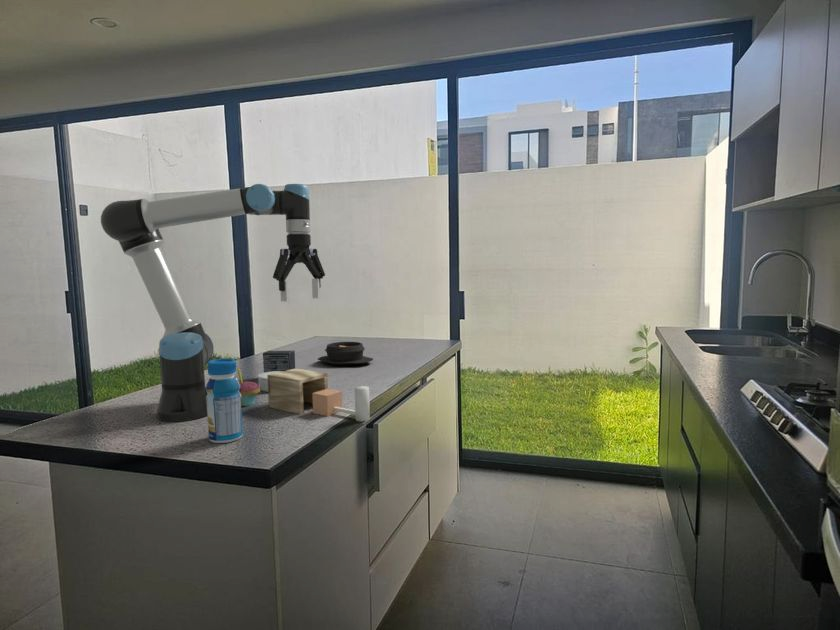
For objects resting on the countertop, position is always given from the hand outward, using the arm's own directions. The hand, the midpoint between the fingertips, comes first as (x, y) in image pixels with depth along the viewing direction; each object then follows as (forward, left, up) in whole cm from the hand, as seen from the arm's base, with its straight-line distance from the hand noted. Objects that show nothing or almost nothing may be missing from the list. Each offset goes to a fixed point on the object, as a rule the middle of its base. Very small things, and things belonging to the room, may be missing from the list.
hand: (301, 299), depth 177 cm
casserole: (+48, +26, -32) cm, 63 cm away
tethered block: (-10, -27, -32) cm, 43 cm away
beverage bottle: (-41, -15, -32) cm, 54 cm away
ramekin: (+1, +16, -32) cm, 36 cm away
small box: (+13, +27, -32) cm, 44 cm away
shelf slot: (-10, -8, -32) cm, 34 cm away
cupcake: (-17, +8, -32) cm, 37 cm away
